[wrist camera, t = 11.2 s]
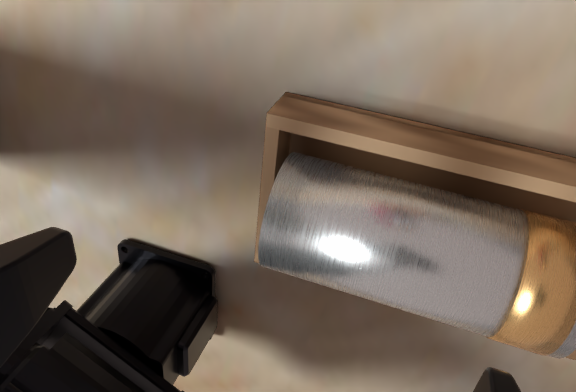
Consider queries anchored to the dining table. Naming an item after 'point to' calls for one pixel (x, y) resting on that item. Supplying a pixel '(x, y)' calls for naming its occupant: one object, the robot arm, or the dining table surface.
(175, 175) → the dining table surface
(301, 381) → the dining table surface
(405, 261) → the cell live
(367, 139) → the trough
